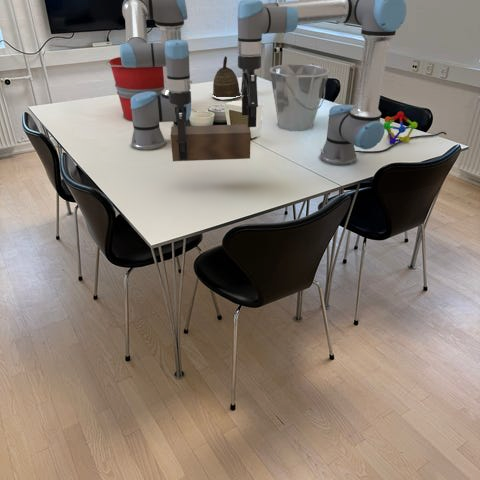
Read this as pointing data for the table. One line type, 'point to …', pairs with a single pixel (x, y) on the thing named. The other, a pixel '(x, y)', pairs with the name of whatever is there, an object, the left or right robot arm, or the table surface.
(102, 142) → the table surface
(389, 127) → the educational toy
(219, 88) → the bell
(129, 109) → the bucket
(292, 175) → the table surface
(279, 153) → the table surface
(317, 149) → the table surface
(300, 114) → the bucket
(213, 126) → the box
